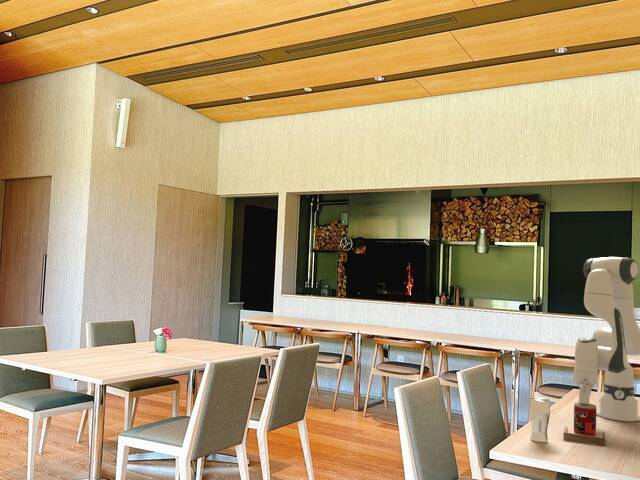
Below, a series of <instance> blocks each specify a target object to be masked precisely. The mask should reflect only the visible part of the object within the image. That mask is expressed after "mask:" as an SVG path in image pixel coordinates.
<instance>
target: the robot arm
mask: <svg viewBox="0 0 640 480" xmlns="http://www.w3.org/2000/svg"><path fill="white" fill-rule="evenodd" d="M582 270H583V276H584V277H585V278H586V281H585V286H584V287H585V288H584V295H583V304H584V307H585V309H586V311H588V312H589V313H590V315H592V316H595V317H597V318H599V319H601V320H603V321H605V322H606V323H607V324H608V325H609V326H610V327H609V326H607V327H599V328H597V329H595V331H594V332H593V334H592V337H590V336H589V337H587V336H584V337H583V336H582V337H580V338H577V340H576V344H575V351H574V361H575V364H574V365H575V366H574V367H573V381H574V382H576V386H577V387H579V391H578V392H579V393H578V403H579V404H584V405H589V404H590V399H591V398H590V397H591V394H592V389H593V388H594V387H595V385H597V384H598V378H599V377H598V375H599V373H598V372H599V371H598V370H600V371H604V374H605V375H604V377H605V379H604V380H605V383H604V384H603V391H604V393H603V394H602V395H601V396H600V398H599V400H598V403H599V405H598V407H599V409H598V410H596V416H598V417H602V418H604V419H609V420H614V421H620V422H640V415H639V400H637V399H636V398H635V386H634V369H633V367H632V366H631V364H630V363H629V360H628V359H629V358H628V356H630V357H631V356H632V357H633V356H634V357H636V356H637V357H638V356H640V327H639V325H638V323H637V320H636V316H635V305H634V287H633V282H634V281H635V280H636V279H637V277H638V274H639V266H638V263H637V261H636V260H635V259H634V258H630V257H627V256H626V257H619V256H608V257H606V256H605V257H593V258H592V257H591V258H589V259H587V260H585V262H584V264H583V268H582Z"/></svg>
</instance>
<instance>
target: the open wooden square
mask: <svg viewBox="0 0 640 480" xmlns="http://www.w3.org/2000/svg"><path fill="white" fill-rule="evenodd" d="M568 428H569V426H564V429H563V440H564V441H572V442H577V443H578V442H579V443H584V444H585V443H586V444H591V445H598V446H604V447H605V446H606V433H605V431H601V436H595V435H592V436H588V435H581V434H577V433H572V432H568V431H569V430H568Z"/></svg>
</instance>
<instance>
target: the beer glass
mask: <svg viewBox="0 0 640 480" xmlns="http://www.w3.org/2000/svg"><path fill="white" fill-rule="evenodd" d="M550 401H551V400H550V399H549V398H545V397H535V396H533V397H530V404H529V405H530V406H529V417H530V423H531V434H530V440H531V441H533V442H537V443H541V444H542V443H543V444H544V443H545V444H546V443H548V442H549V437H548V427H549V422H550V417H551V403H550Z"/></svg>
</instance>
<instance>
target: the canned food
mask: <svg viewBox="0 0 640 480" xmlns="http://www.w3.org/2000/svg"><path fill="white" fill-rule="evenodd" d="M596 411H597V405H595V404H593V403H589V405H584V404H579V402H574V404H573V431H574V434H580V435H587V436H595V435H596V433H597V415H596Z"/></svg>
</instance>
